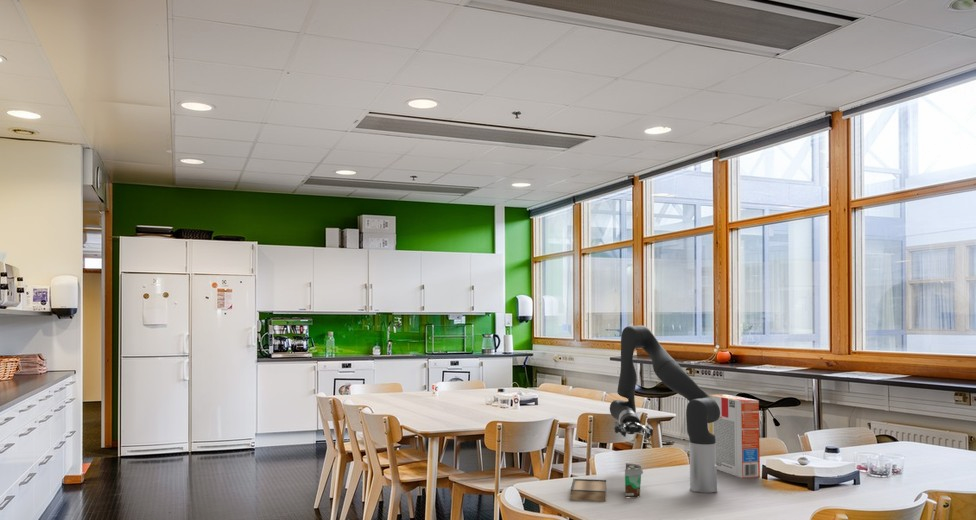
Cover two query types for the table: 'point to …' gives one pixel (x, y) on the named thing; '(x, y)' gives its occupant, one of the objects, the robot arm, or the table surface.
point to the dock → (588, 490)
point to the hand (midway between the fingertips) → (636, 435)
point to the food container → (632, 480)
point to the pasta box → (737, 436)
